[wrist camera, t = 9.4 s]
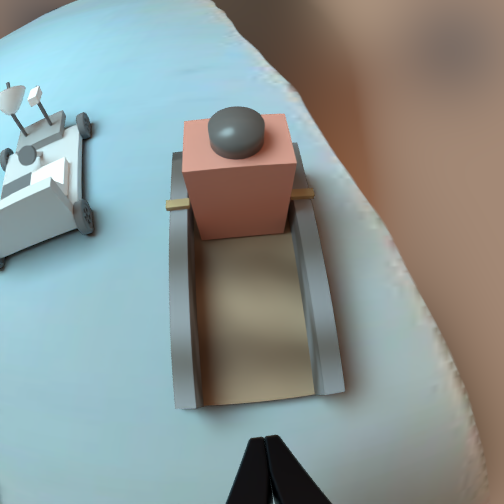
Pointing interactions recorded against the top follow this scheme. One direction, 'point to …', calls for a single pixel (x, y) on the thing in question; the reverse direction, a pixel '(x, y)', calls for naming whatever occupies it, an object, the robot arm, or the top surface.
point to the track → (249, 308)
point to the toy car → (41, 177)
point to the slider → (238, 172)
